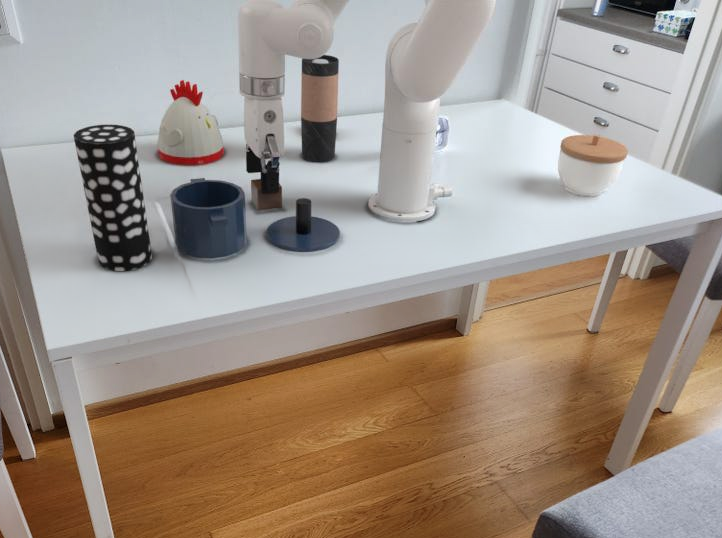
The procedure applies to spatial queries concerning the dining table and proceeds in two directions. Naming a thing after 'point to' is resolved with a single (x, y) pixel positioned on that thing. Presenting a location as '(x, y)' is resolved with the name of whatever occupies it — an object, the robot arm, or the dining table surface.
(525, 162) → the dining table surface
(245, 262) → the dining table surface
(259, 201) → the block
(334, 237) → the lid
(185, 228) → the pot
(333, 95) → the travel mug
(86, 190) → the spotted tube
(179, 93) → the kitchen timer
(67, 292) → the dining table surface
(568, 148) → the lidded bowl
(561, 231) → the dining table surface
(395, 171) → the robot arm
